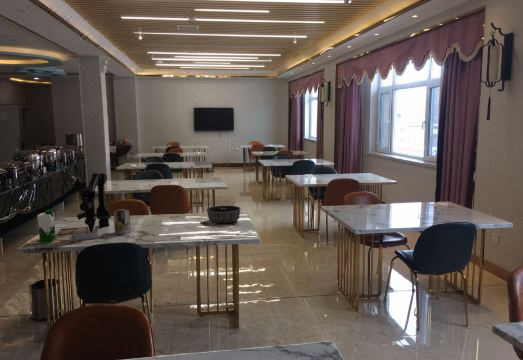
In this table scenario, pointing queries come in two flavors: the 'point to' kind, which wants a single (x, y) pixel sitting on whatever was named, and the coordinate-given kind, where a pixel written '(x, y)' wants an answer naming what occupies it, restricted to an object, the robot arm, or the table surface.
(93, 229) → the stone
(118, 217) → the coffee box
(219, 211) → the bundt pan
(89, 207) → the robot arm
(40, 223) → the milk carton
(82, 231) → the tan rectangular block
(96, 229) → the slate bin
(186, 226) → the table surface
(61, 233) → the walnut caddy
